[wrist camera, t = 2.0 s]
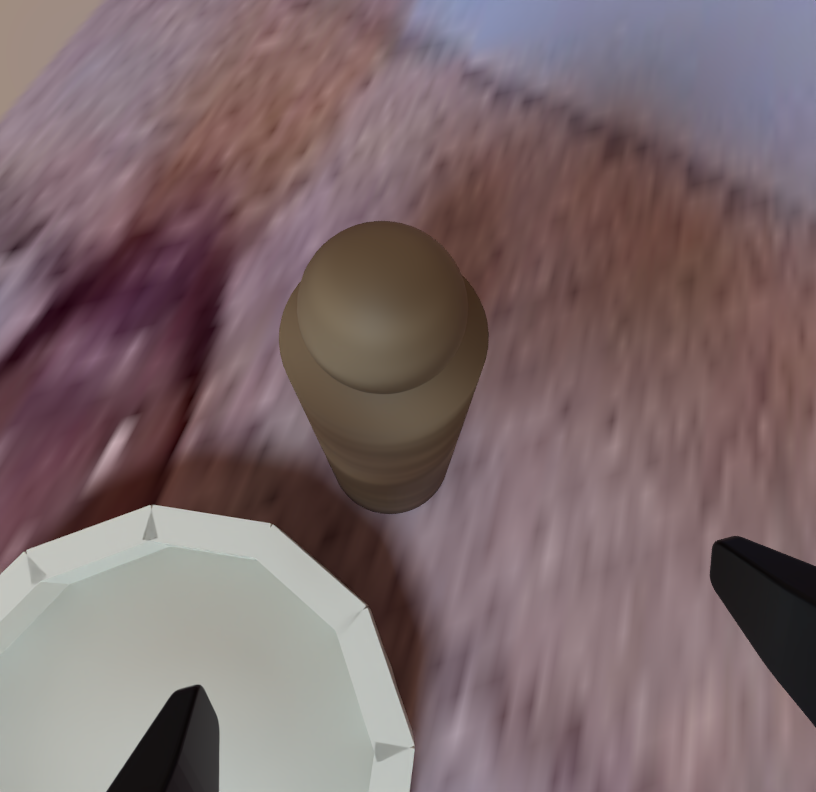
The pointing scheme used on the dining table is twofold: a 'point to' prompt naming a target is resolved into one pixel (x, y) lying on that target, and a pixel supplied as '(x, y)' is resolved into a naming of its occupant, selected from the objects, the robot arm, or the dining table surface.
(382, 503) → the pepper mill
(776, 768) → the dining table surface
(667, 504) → the dining table surface
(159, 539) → the dish
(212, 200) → the dining table surface
